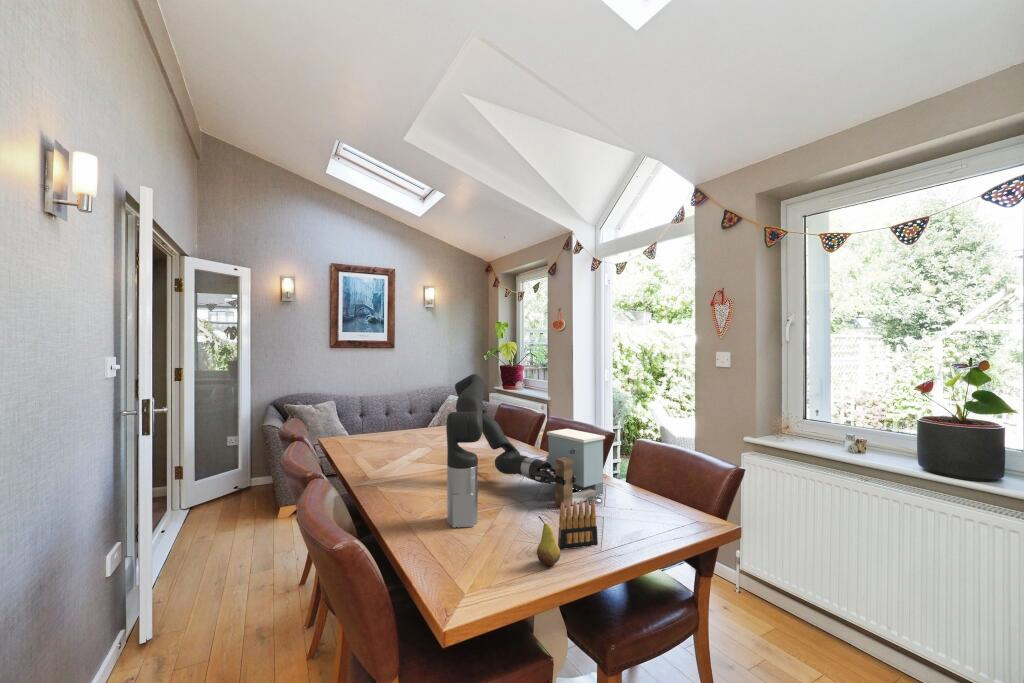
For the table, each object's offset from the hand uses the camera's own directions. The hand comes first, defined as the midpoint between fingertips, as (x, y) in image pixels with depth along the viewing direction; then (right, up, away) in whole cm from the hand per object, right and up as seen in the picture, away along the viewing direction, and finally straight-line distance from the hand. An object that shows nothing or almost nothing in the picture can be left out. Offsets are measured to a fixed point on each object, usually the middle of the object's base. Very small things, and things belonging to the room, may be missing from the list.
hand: (569, 480), depth 152 cm
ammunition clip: (-2, -9, -29) cm, 30 cm away
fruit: (-10, -9, -39) cm, 41 cm away
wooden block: (+3, -9, +6) cm, 11 cm away
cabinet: (+4, -9, +17) cm, 20 cm away
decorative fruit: (-1, -10, +37) cm, 38 cm away
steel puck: (+9, -9, +5) cm, 14 cm away
